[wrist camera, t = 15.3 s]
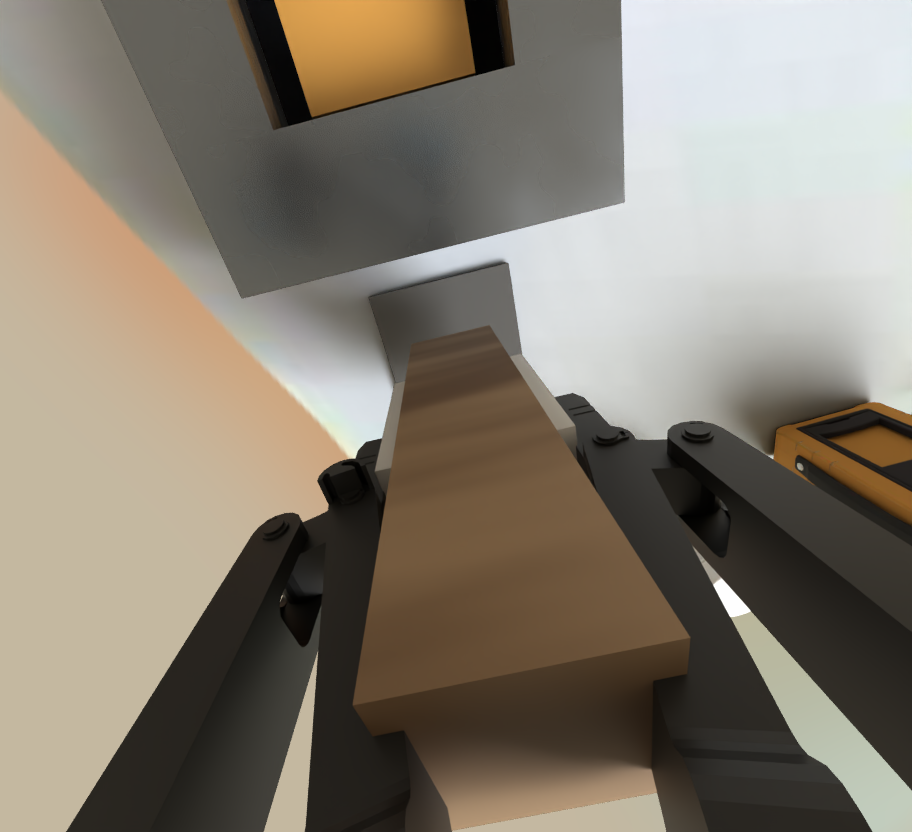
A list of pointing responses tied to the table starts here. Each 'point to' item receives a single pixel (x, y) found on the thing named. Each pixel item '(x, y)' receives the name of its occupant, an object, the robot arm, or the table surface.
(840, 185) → the table surface
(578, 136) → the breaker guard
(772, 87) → the table surface
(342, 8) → the button
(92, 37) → the table surface
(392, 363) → the rest mat
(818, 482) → the multimeter
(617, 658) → the brown rectangular block
